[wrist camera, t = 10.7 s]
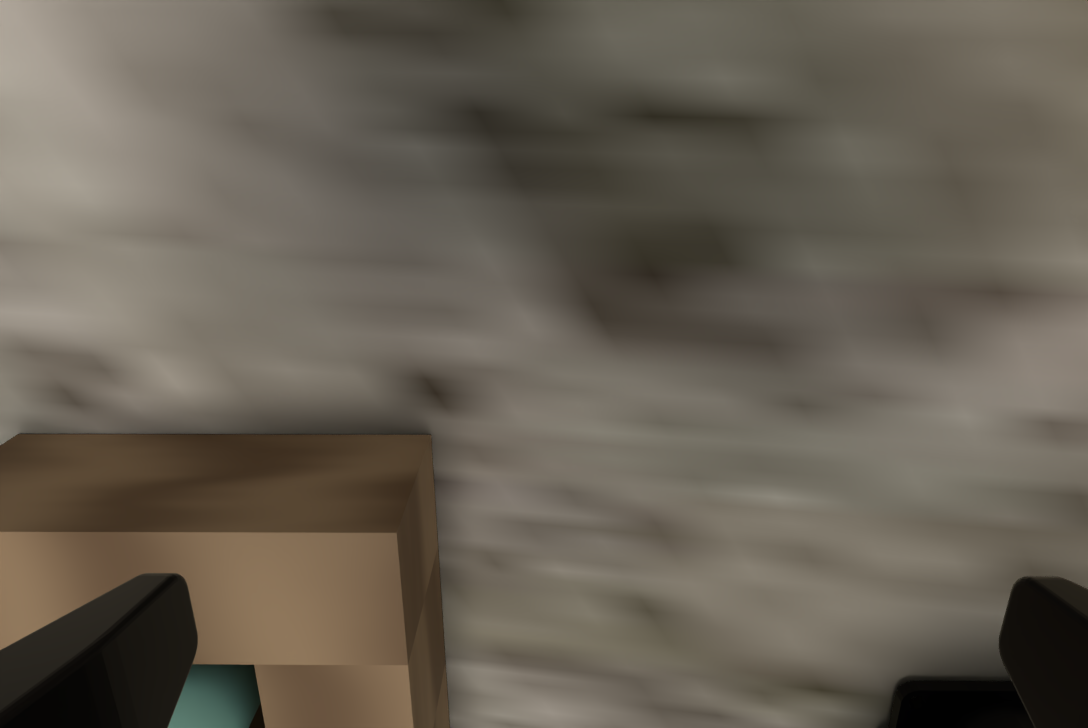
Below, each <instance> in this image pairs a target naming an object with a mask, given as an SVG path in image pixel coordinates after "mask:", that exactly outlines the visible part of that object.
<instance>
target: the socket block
mask: <svg viewBox="0 0 1088 728" xmlns="http://www.w3.org/2000/svg"><path fill="white" fill-rule="evenodd" d="M144 573H177V574H179V575H181V576H183V577H184V579H185V580H186V582H187V585H188V589H189V594H190V599H191V604H192V608H193V613H194V618H195V623H196V628H197V633H198V645H197V651H196V655H195V658H194V661H193V664H239V665H254V667H255V673H256V678H257V684H258V690H259V695H260V701H261V703H260V705H259V707H258V709H257V711H256V713H255V716H254V718H253V720H252V722H251V724H250V726H249V728H450V724H449V708H448V692H447V677H446V661H445V645H444V630H443V614H442V598H441V583H440V567H439V551H438V536H437V520H436V504H435V489H434V473H433V457H432V442H431V435H258V434H18V435H16V436H15V437H13V438H11V439H10V440H8V441H7V442H5V443H4V444H2V445H1V446H0V650H1V649H3V648H5V647H7V646H9V645H10V644H12V643H14V642H16V641H18V640H20V639H22V638H23V637H25V636H27V635H29V634H31V633H33V632H35V631H36V630H38V629H40V628H42V627H44V626H46V625H47V624H49V623H51V622H53V621H55V620H57V619H59V618H60V617H62V616H64V615H66V614H68V613H70V612H71V611H73V610H75V609H77V608H79V607H81V606H83V605H84V604H86V603H88V602H90V601H92V600H94V599H96V598H97V597H99V596H101V595H103V594H105V593H107V592H108V591H110V590H112V589H114V588H116V587H118V586H120V585H121V584H123V583H125V582H127V581H129V580H131V579H132V578H134V577H136V576H138V575H140V574H144Z"/></svg>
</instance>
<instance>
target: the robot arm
mask: <svg viewBox="0 0 1088 728" xmlns="http://www.w3.org/2000/svg"><path fill="white" fill-rule="evenodd" d="M197 645H198V633H197V628H196V623H195V618H194V613H193V608H192V604H191V599H190V594H189V589H188V585H187V582H186V580H185V579H184V577H183V576H181V575H179V574H177V573H144V574H140V575H138V576H136V577H134V578H132V579H131V580H129V581H127V582H125V583H123V584H121V585H120V586H118V587H116V588H114V589H112V590H110V591H108V592H107V593H105V594H103V595H101V596H99V597H97V598H96V599H94V600H92V601H90V602H88V603H86V604H84V605H83V606H81V607H79V608H77V609H75V610H73V611H71V612H70V613H68V614H66V615H64V616H62V617H60V618H59V619H57V620H55V621H53V622H51V623H49V624H47V625H46V626H44V627H42V628H40V629H38V630H36V631H35V632H33V633H31V634H29V635H27V636H25V637H23V638H22V639H20V640H18V641H16V642H14V643H12V644H10V645H9V646H7V647H5V648H3V649H1V650H0V728H168V726H169V723H170V721H171V718H172V715H173V713H174V710H175V708H176V705H177V702H178V700H179V697H180V695H181V692H182V690H183V687H184V684H185V682H186V679H187V677H188V674H189V672H190V669H191V666H192V664H193V661H194V658H195V655H196V651H197ZM999 650H1000V655H1001V658H1002V661H1003V664H1004V666H1005V668H1006V670H1007V672H1008V674H1009V676H1010V678H1011V680H1012V682H1011V681H910V682H906V683H904V684H902V685H901V686H900V687H899V688H898V689H897V691H896V694H895V699H894V704H893V708H892V713H891V718H890V723H889V727H888V728H1088V589H1086V588H1084V587H1082V586H1080V585H1077V584H1075V583H1073V582H1071V581H1069V580H1067V579H1064V578H1061V577H1053V576H1026V577H1022V578H1020V579H1018V580H1017V581H1016V582H1015V584H1014V585H1013V587H1012V590H1011V594H1010V598H1009V601H1008V605H1007V609H1006V613H1005V616H1004V620H1003V624H1002V628H1001V631H1000V635H999ZM913 697H915V698H913ZM912 698H913V699H912Z"/></svg>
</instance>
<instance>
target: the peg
mask: <svg viewBox="0 0 1088 728" xmlns="http://www.w3.org/2000/svg"><path fill="white" fill-rule="evenodd" d="M260 703H261V701H260V695H259V690H258V684H257V678H256V673H255V667H254V665H239V664H192V666H191V669H190V672H189V674H188V677H187V679H186V682H185V684H184V687H183V690H182V692H181V695H180V697H179V700H178V702H177V705H176V708H175V710H174V713H173V715H172V718H171V721H170V723H169V726H168V728H249V726H250V724H251V722H252V720H253V718H254V716H255V713H256V711H257V709H258V707H259V705H260Z"/></svg>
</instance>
